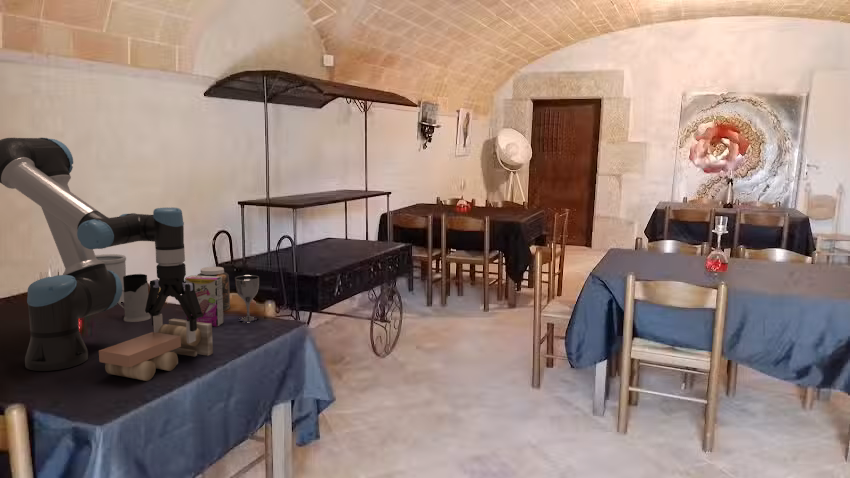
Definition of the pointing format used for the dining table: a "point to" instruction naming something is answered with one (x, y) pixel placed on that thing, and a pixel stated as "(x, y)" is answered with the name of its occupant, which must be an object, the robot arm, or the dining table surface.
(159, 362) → the roller rack
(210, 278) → the candy bar box
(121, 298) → the utensil holder
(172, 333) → the roller loose
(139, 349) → the slab
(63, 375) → the dining table surface
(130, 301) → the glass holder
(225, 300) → the jar
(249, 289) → the wine glass
